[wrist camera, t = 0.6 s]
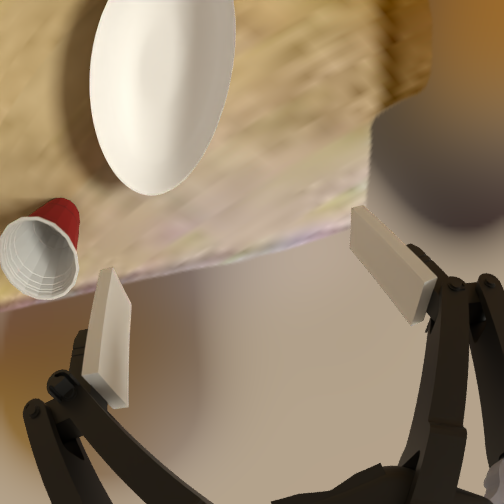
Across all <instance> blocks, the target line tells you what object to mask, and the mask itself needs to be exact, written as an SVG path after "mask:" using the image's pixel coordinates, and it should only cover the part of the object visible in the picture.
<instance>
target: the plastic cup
mask: <svg viewBox="0 0 504 504" xmlns="http://www.w3.org/2000/svg"><path fill="white" fill-rule="evenodd" d="M79 224H80V219H79V212H78V210H77V208H76V206H75V205H74V204H73V203H72V202H71V201H70V200H67V199H65V198H56V199H53V200H51V201H49V202H47V203H46V204H45V205H44V206H42V207H40V208H39V209H37V210H36V211H35V212H33V213H32V214H31V215H29V216H28V217H21V218H19V219H17V220H15V221H14V222H12V223H10V224H8V225H7V227H6V228H5V230H4V232H3V233H2V235H1V236H0V264H1V268H2V270H3V272H4V273H5V275H6V277H7V278H8V280H9V281H10V283H11V284H12V285H14V286H15V287H16V288H17V289H18V290H19V291H21V292H22V293H23V294H26V295H28V296H31V297H33V298H35V299H42V300H53V299H56V298H59V297H61V296H64V295H66V294H67V293H68V292H69V290H70V289H71V288H72V287H73V286H74V285H75V283H76V279H77V276H78V272H79V264H78V257H77V242H78V235H79Z"/></svg>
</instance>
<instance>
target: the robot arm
mask: <svg viewBox="0 0 504 504" xmlns="http://www.w3.org/2000/svg"><path fill="white" fill-rule="evenodd" d="M350 249H351V250H352V252H353V253H354V254H355V255H356V256H357V258H358V259H359V260H360V261H361V263H362V264H363V265H364V266H365V268H366V269H367V270H368V271H369V272H370V274H371V275H372V276H373V277H374V279H375V280H376V281H377V282H378V284H379V285H380V286H381V288H382V289H383V290H384V291H385V293H386V294H387V295H388V296H389V298H390V299H391V300H392V302H393V303H394V304H395V306H396V307H397V308H398V309H399V311H400V312H401V314H402V315H403V316H404V318H405V319H406V320H407V322H408V323H409V324H410V325H411V326H413V325H415V324H417V323H419V322H422V321H423V320H424V317H425V314H426V312H427V313H428V315H429V316H430V317H431V318H430V320H429V323H428V325H427V329H426V331H425V332H427V331H428V335H427V343H426V351H425V358H424V364H423V371H422V377H421V383H420V388H419V393H418V398H417V404H416V408H415V412H414V417H413V421H412V425H411V429H410V434H409V437H408V441H407V445H406V447H405V450H404V452H403V454H402V456H401V458H400V461H399V464H398V466H384V467H382V465H381V463H379V464H377V465H375V466H373V467H370V468H368V469H366V470H363V471H361V472H359V473H356V474H354V475H353V476H352V477H350V478H349V479H347V480H346V481H344V482H343V483H341V484H340V485H338V486H337V487H335V488H334V489H333V490H330V491H325V492H315V493H303V494H297V495H293V496H290V497H286V498H283V499H279V500H275V501H271V504H504V290H503V287H502V285H501V283H500V281H499V280H498V279H497V278H496V277H495V276H493V275H491V274H487V273H486V274H482V275H480V276H479V279H478V281H477V282H474V283H465V282H464V281H463V280H461V279H460V278H457V277H451V276H450V277H448V276H447V275H446V274H445V273H444V272H443V271H442V270H441V269H440V268H439V267H438V266H437V265H436V263H435V262H434V261H432V260H431V259H430V258H429V257H428V256H426V254H425V253H424V252H423V251H422V250H421V249H420V248H419V247H417V246H415V245H413V244H408V245H405V244H404V243H403V242H402V241H401V240H400V239H399V238H398V237H397V236H396V235H395V234H394V233H392V231H391V230H390V229H388V228H387V227H386V226H385V225H384V224H383V223H382V222H381V221H380V220H379V219H378V218H377V217H376V216H375V215H373V214H372V213H371V212H370V211H369V210H368V209H367V208H366V207H365V206H363V205H362V206H358V207H353V208H351V234H350ZM130 319H131V303H130V301H129V299H128V297H127V295H126V293H125V291H124V289H123V287H122V285H121V283H120V281H119V279H118V276H117V274H116V272H115V270H114V268H113V267H111V268H107V269H103V270H100V273H99V278H98V282H97V287H96V291H95V296H94V301H93V306H92V311H91V317H90V322H89V328H88V329H85V330H80V331H79V333H78V334H77V336H76V338H75V340H74V345H73V351H72V358H71V362H70V368H69V371H67V370H58V371H56V372H55V373H53V374H52V376H51V377H50V378H49V380H48V382H47V391H48V393H49V394H50V395H51V396H52V397H53V398H54V399H53V400H50V401H48V402H46V403H44V402H43V401H41V400H40V399H32V400H30V401H29V402H28V403H27V404H26V406H25V407H24V411H23V418H24V423H25V426H26V430H27V434H28V438H29V441H30V444H31V448H32V451H33V454H34V457H35V460H36V463H37V466H38V469H39V472H40V474H41V477H42V480H43V483H44V486H45V488H46V491H47V493H48V496H49V498H50V500H51V503H52V504H113V503H112V502H111V500H110V498H109V497H108V495H107V493H106V491H105V489H104V488H103V486H102V484H101V482H100V480H99V478H98V476H97V474H96V472H95V470H94V468H93V466H92V465H91V462H90V460H89V458H88V456H87V454H86V452H85V449H84V447H83V445H82V443H81V440H80V438H79V437H81V436H84V437H85V438H86V439H87V441H88V442H89V443H90V444H91V445H92V447H93V448H94V449H95V450H96V451H97V452H98V454H99V455H100V456H101V457H102V458H103V459H104V461H105V462H106V463H107V464H108V465H109V466H110V467H111V468H112V470H113V471H114V472H115V473H116V474H117V475H118V476H119V477H120V478H121V479H122V480H123V481H124V482H125V483H126V484H127V485H128V486H129V487H130V488H131V489H132V490H133V491H134V492H135V493H136V494H137V495H138V496H139V497H140V498H141V499H142V500H143V501H144V502H145V503H146V504H213V503H212V502H211V501H209V500H207V499H206V498H205V497H204V496H202V495H201V494H200V493H198V492H197V491H196V490H194V489H193V488H192V487H190V486H189V485H188V484H186V483H185V482H184V481H182V480H181V479H180V478H179V477H178V476H176V475H175V474H174V473H173V472H172V471H170V470H169V469H168V468H167V467H166V466H164V465H163V464H162V463H161V462H160V461H159V460H157V459H156V458H155V457H154V456H153V455H152V454H151V453H150V452H149V451H147V450H146V449H145V448H144V447H143V446H142V445H141V444H140V443H139V442H138V441H137V440H135V438H133V437H132V436H131V434H129V433H128V432H127V431H126V430H125V429H124V428H123V427H122V426H121V425H120V423H119V422H117V420H115V418H114V417H113V416H112V415H111V414H110V413H109V412H108V411H107V403H108V404H109V405H110V406H111V407H112V408H113V409H117V408H124V407H129V401H128V376H129V375H128V374H129V372H128V371H129V339H130ZM469 345H470V349H471V354H472V359H473V363H474V368H475V373H476V379H477V384H478V390H479V396H480V402H481V409H482V417H483V426H484V435H485V446H486V454H487V459H488V464H489V468H490V469H489V471H488V473H487V476H486V478H485V480H484V487H485V488H486V494H485V496H484V497H483V496H480V495H477V494H474V493H471V492H468V491H465V490H462V489H460V488H457V484H458V480H459V476H460V471H461V467H462V462H463V456H464V451H465V445H466V439H467V430H466V429H465V428H464V427H463V419H464V411H465V403H466V402H465V401H466V391H467V379H468V362H469Z"/></svg>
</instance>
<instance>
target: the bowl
mask: <svg viewBox="0 0 504 504" xmlns="http://www.w3.org/2000/svg"><path fill="white" fill-rule="evenodd" d="M235 38H236V23H235V9H234V2H233V0H108V2H107V4H106V6H105V8H104V11H103V13H102V16H101V18H100V21H99V24H98V28H97V31H96V35H95V39H94V44H93V49H92V56H91V64H90V103H91V111H92V118H93V123H94V127H95V131H96V135H97V138H98V141H99V144H100V147H101V149H102V152H103V154H104V156H105V158H106V160H107V162H108V164H109V166H110V167H111V169H112V170H113V172H114V173H115V175H116V176H117V177H118V178H119V179H120V180H121V181H122V182H123V183H124V184H125V185H126V186H127V187H129V188H130V189H132V190H133V191H135V192H137V193H140V194H143V195H160V194H163V193H166V192H168V191H170V190H172V189H173V188H175V187H176V186H178V185H179V184H180V183H181V182H183V181H184V180H185V179H186V178H187V177H188V175H189V174H190V173H191V172H192V171H193V169H194V168H195V167H196V165H197V164H198V163H199V161H200V159H201V158H202V156H203V155H204V153H205V151H206V149H207V147H208V145H209V143H210V141H211V139H212V137H213V135H214V132H215V130H216V128H217V125H218V122H219V120H220V117H221V114H222V111H223V108H224V104H225V101H226V97H227V93H228V89H229V85H230V80H231V75H232V69H233V62H234V53H235Z"/></svg>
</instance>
